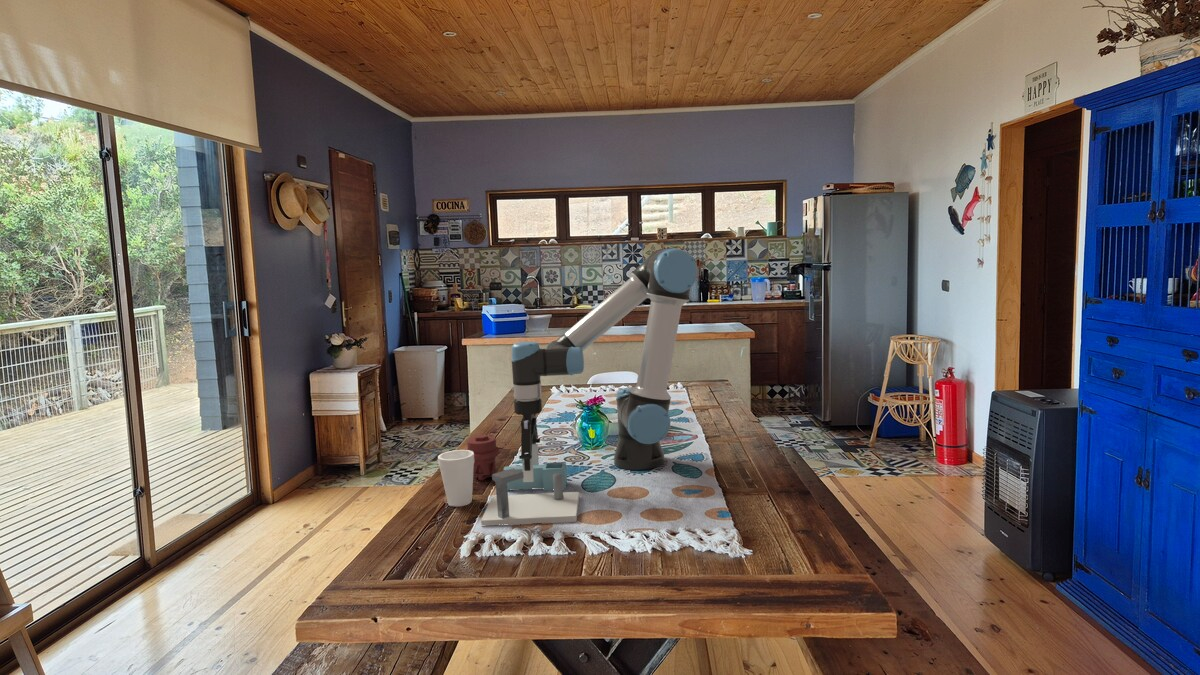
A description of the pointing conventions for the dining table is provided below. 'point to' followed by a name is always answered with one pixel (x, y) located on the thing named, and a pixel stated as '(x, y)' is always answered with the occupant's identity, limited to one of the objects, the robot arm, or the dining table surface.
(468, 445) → the mechanical component
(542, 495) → the board
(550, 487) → the link
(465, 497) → the foam cup
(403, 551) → the dining table surface
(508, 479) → the block
